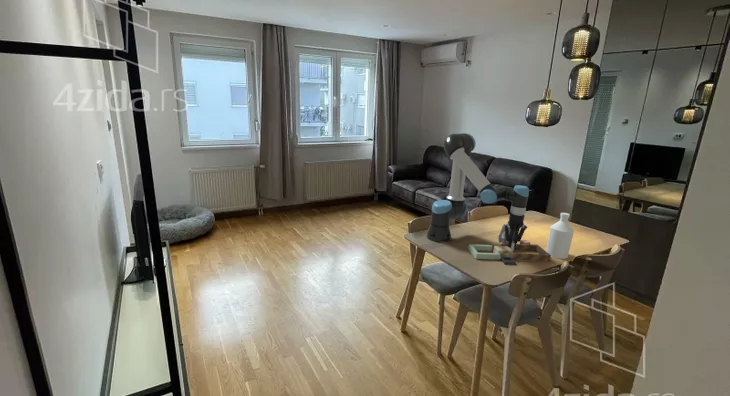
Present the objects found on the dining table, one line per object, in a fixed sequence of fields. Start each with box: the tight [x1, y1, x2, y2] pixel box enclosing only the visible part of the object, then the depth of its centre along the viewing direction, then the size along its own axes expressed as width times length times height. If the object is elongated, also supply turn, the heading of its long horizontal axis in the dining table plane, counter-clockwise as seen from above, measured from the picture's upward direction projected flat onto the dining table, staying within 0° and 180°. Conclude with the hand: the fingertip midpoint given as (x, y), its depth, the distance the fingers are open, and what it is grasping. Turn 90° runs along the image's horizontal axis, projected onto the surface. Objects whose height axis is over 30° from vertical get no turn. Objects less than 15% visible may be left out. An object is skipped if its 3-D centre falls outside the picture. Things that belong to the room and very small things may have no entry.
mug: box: [497, 225, 514, 244], centre depth 213 cm, size 8×12×12 cm, turn 117°
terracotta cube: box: [519, 239, 531, 244], centre depth 210 cm, size 4×4×4 cm
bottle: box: [545, 212, 575, 260], centre depth 199 cm, size 12×12×25 cm
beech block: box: [492, 245, 512, 257], centre depth 198 cm, size 8×6×4 cm
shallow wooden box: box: [500, 243, 552, 262], centre depth 199 cm, size 22×15×4 cm
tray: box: [499, 257, 517, 265], centre depth 189 cm, size 6×6×1 cm
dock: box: [467, 243, 500, 260], centre depth 198 cm, size 13×13×3 cm
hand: (510, 252), depth 198 cm, fingers closed
